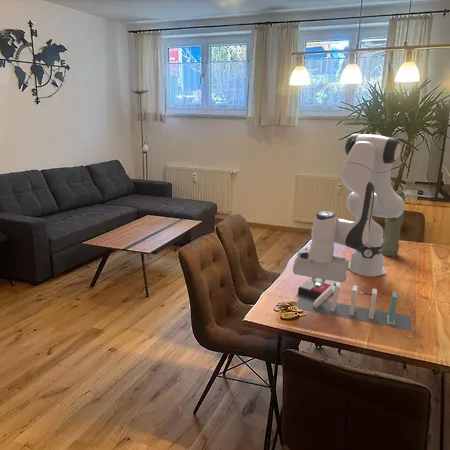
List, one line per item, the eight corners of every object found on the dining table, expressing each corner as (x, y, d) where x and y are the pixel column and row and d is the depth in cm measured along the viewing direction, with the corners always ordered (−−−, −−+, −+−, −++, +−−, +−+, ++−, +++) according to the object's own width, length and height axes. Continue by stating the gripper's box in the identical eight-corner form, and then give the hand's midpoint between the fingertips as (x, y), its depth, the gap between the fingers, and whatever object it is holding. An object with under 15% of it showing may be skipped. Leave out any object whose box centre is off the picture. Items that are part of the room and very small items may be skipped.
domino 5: (388, 321, 154) (392, 296, 151) (388, 316, 158) (392, 291, 155) (393, 322, 153) (397, 297, 150) (393, 316, 158) (397, 292, 155)
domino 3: (349, 314, 158) (352, 290, 156) (350, 309, 163) (353, 285, 160) (353, 315, 158) (356, 290, 155) (354, 309, 162) (357, 285, 160)
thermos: (398, 252, 235) (408, 191, 226) (396, 258, 225) (406, 194, 216) (381, 249, 239) (390, 189, 230) (379, 255, 229) (388, 192, 220)
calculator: (298, 285, 173) (313, 275, 185) (297, 295, 174) (312, 284, 186) (323, 292, 167) (337, 281, 179) (322, 302, 168) (336, 290, 180)
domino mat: (299, 297, 173) (299, 295, 172) (410, 318, 159) (410, 316, 159) (294, 309, 162) (294, 307, 162) (412, 333, 148) (412, 330, 148)
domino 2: (330, 310, 160) (334, 286, 158) (331, 305, 165) (336, 282, 162) (334, 311, 160) (339, 287, 157) (335, 306, 164) (340, 282, 162)
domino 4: (368, 318, 156) (372, 293, 153) (369, 312, 160) (372, 288, 158) (373, 319, 155) (376, 294, 153) (373, 313, 160) (377, 289, 157)
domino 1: (313, 305, 162) (330, 288, 158) (315, 300, 167) (332, 283, 163) (316, 308, 162) (333, 291, 158) (318, 302, 167) (335, 286, 163)
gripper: (350, 256, 159) (346, 290, 162) (296, 248, 165) (293, 280, 169) (348, 261, 153) (344, 296, 157) (293, 252, 160) (290, 286, 163)
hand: (317, 288), depth 163 cm, fingers closed
